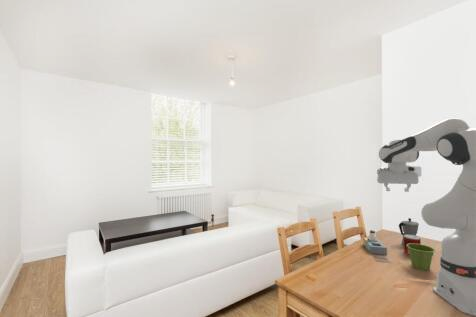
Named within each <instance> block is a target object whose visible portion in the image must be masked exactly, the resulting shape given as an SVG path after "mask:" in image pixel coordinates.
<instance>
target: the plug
mask: <svg viewBox="0 0 476 317" xmlns="http://www.w3.org/2000/svg"><path fill="white" fill-rule="evenodd" d="M368 238H369V241H372V242H376V239H377V235H376V231H375V230H372V229H371V230H369V237H368Z"/></svg>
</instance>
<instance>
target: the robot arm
mask: <svg viewBox="0 0 476 317" xmlns="http://www.w3.org/2000/svg"><path fill="white" fill-rule="evenodd" d="M420 152H437V153H438V154H439V155H440V156H441V157H442V158H443V159H445V160H446V161H449V162H451V163H452V164H453V165H455V166H461V165H462V170H461V172H460V174H459V176H458V178H457V179H456V182H455V183H454V185H453V186H452V188H451V190H449V192H448V193H446V194H445V195H444V196H442V197H441V198H439V199H437V200H434V201H432V202H430V203H426V204H425V205H423V206H422V208H421V218H422V220H423V221H424V222H425V224H427V225H428V226H430V227H431V226H432V227H435V228H441V229H446V230H449V229H450V230H455V231H454V232H453V233H452V234H450V235H448V236H445V237H444V238H443V239H442V240H441V256H440V260H439V262H440V264H439V265H440V269H439V270H438V271H437V274H436V281H435V282H436V284H435V286H434V287H432V292H434V293H436V294H437V295H438V296H439V297H440V298H442V299H444V300H445V301H446V302H447V303H449V304H450V305H451V306H453V307H454V308H455V309H457V310H458V311H460V312H462V313H464V314H467V315H469V316H474V317H476V128H475V127H473V128H472V127H469V124H468V123H467V122H466V121H464V120H463V119H461V118H458V117H457V118H456V117H455V118H454V117H453V118H448V119H445V120H442V121H440V122H437V123H435V124H433V125H432V126H430V127H427V129H424V130H422V131H420V132H418V133H415V134H413V135H411V136H408V137H406V138H403V139H395V140H392V141H390V142H389V143H388V144H384V145H383V146H382V147H381V148H380V149H379V151H378V158H379V159H380V160H381V162H383V163H385V164H387V167H379V168H378V169H377V172H376V174H377V176H376V177H377V178H376V181H377V182H378V184H383V185H384V187H385V189H386V190H385V191H386V192H390V191H391V188H390V187H388V186H389V184H395V185H396V184H397V185H398V184H399V185H400V184H401V185H406V188H405V187H404V192H405V193H409V191H410V190H409V189H410V188H411V186H412V185H417V184H418V183H419V175H418V172H417V167H415V166H412V165H411V166H410V165H407V163H414V162H416V161H417V160H418V159H419V157H420Z"/></svg>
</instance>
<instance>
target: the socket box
mask: <svg viewBox="0 0 476 317" xmlns="http://www.w3.org/2000/svg"><path fill="white" fill-rule="evenodd" d="M362 245H363V246H364V247H365V248H366V249H367V251H368V252H369V253H370V254H374V255H388V248H387V246H386V245H385V244H384V243H383V242H382V241H381V240H380V239H379V238H376V242H372V241H369V237H362Z"/></svg>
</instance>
